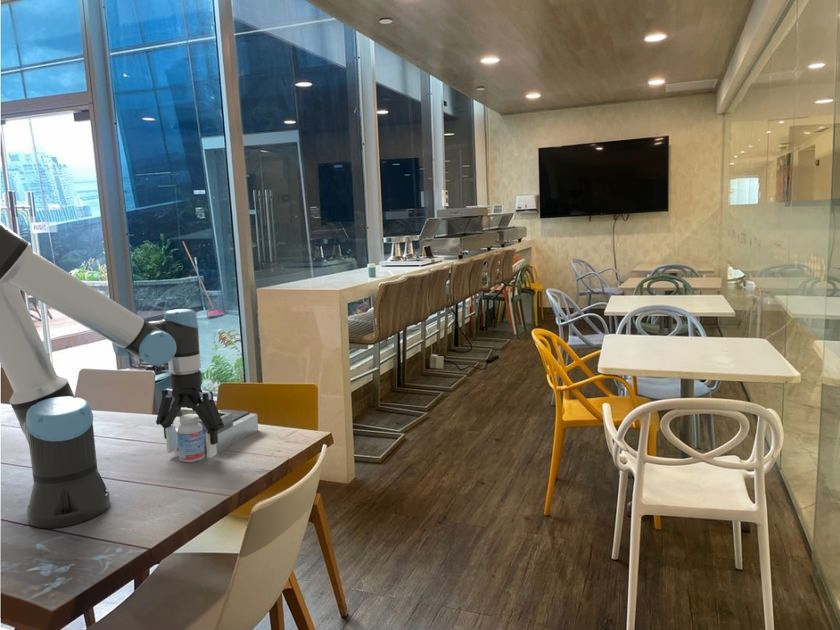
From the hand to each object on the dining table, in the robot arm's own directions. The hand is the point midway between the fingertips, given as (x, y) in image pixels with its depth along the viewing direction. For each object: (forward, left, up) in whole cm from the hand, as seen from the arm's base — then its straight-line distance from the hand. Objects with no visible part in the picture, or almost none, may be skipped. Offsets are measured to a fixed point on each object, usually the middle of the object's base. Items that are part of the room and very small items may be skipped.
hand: (192, 453), depth 158 cm
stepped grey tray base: (+14, +3, -1) cm, 14 cm away
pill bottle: (0, 0, -2) cm, 2 cm away
